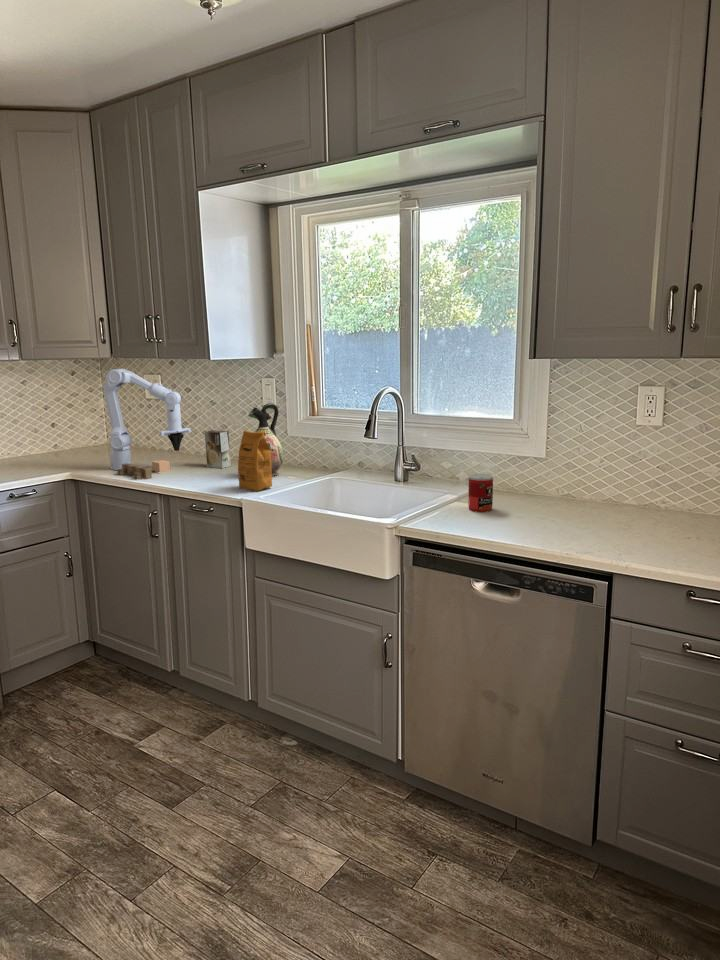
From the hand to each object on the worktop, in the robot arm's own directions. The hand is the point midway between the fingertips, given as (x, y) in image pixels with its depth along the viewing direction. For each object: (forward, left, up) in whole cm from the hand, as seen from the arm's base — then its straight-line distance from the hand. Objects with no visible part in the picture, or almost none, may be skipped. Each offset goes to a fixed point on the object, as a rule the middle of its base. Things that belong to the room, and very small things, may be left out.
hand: (176, 450), depth 303 cm
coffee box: (+11, +14, -8) cm, 20 cm away
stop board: (0, -21, -8) cm, 23 cm away
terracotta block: (0, -8, -8) cm, 12 cm away
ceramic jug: (+44, +15, -8) cm, 47 cm away
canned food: (+144, +22, -8) cm, 146 cm away
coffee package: (+60, -4, -8) cm, 61 cm away
